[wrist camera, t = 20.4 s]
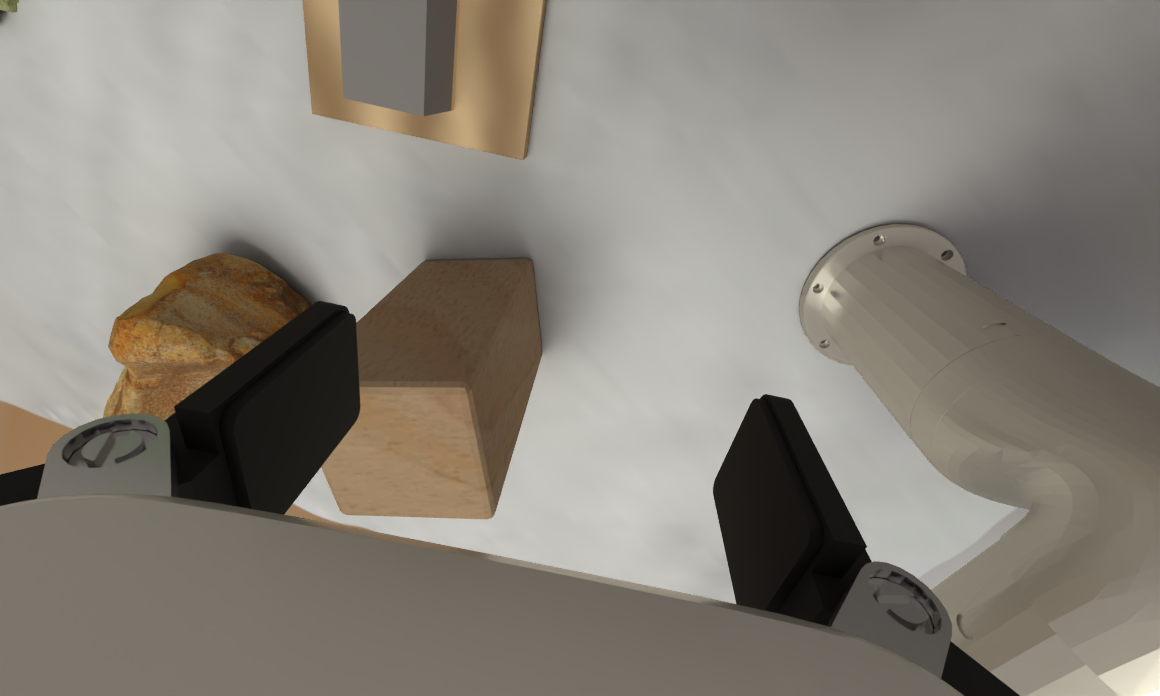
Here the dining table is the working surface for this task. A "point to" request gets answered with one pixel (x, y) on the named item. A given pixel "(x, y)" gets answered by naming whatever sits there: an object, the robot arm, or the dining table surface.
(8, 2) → the washcloth
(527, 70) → the board
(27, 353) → the dining table surface
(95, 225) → the dining table surface
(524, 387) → the wooden block
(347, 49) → the block
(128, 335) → the rough brown rock
